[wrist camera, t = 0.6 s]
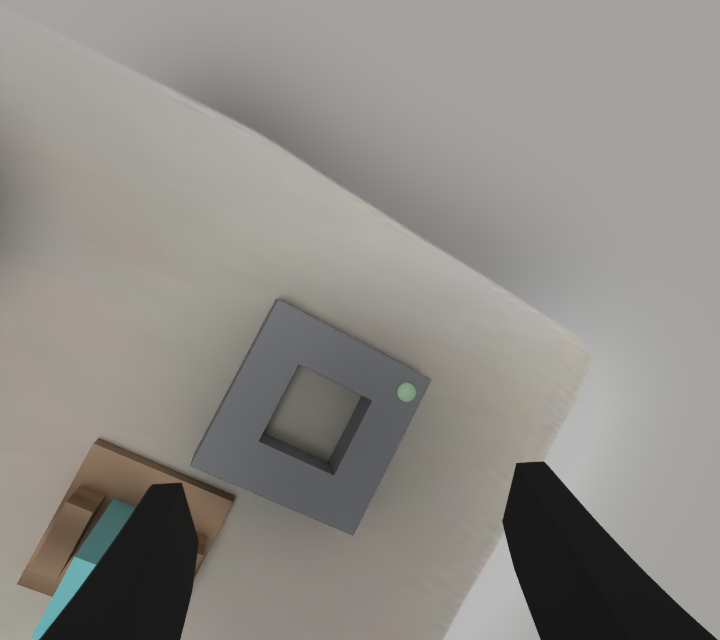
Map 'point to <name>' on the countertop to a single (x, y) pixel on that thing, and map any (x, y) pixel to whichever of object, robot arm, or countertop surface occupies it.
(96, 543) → the plug
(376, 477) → the port
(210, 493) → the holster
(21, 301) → the countertop surface
